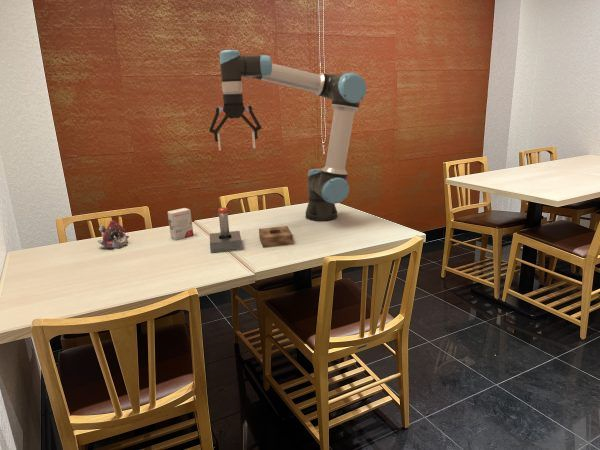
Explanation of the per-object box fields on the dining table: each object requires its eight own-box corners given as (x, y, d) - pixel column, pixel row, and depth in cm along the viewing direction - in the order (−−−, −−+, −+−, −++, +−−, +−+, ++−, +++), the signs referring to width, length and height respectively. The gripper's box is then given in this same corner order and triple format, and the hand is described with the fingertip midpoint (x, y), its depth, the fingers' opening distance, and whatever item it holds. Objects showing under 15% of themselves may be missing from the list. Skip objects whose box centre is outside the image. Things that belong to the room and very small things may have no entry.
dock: (240, 239, 183) (239, 230, 181) (242, 249, 171) (241, 239, 170) (210, 242, 180) (209, 233, 179) (210, 253, 169) (209, 243, 168)
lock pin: (230, 244, 178) (226, 207, 173) (230, 247, 175) (227, 209, 170) (221, 245, 177) (218, 207, 173) (222, 248, 174) (218, 210, 169)
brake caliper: (116, 246, 173) (99, 221, 174) (103, 259, 179) (86, 235, 179) (138, 237, 183) (121, 214, 183) (125, 250, 189) (109, 227, 189)
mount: (287, 235, 186) (287, 226, 185) (292, 244, 175) (292, 234, 174) (259, 237, 184) (258, 228, 183) (262, 247, 173) (262, 237, 171)
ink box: (188, 233, 194) (185, 207, 191) (194, 235, 190) (191, 209, 187) (170, 237, 189) (166, 211, 185) (175, 240, 185) (171, 213, 182)
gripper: (263, 91, 175) (267, 145, 181) (199, 94, 171) (205, 149, 177) (266, 92, 168) (269, 148, 174) (199, 94, 164) (205, 152, 170)
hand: (237, 149), depth 176 cm, fingers open, 13 cm apart
